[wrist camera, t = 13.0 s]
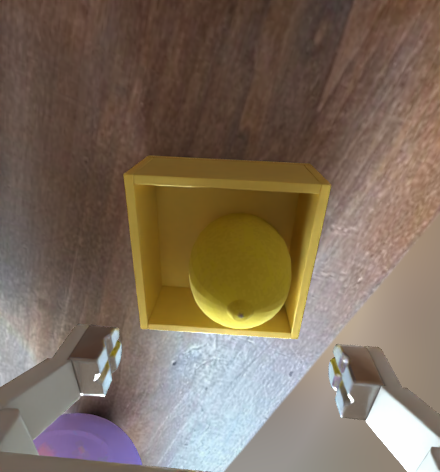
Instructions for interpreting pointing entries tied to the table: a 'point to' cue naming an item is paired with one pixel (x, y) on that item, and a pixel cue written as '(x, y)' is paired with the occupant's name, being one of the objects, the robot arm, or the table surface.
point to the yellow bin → (201, 215)
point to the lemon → (240, 271)
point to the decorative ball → (87, 440)
